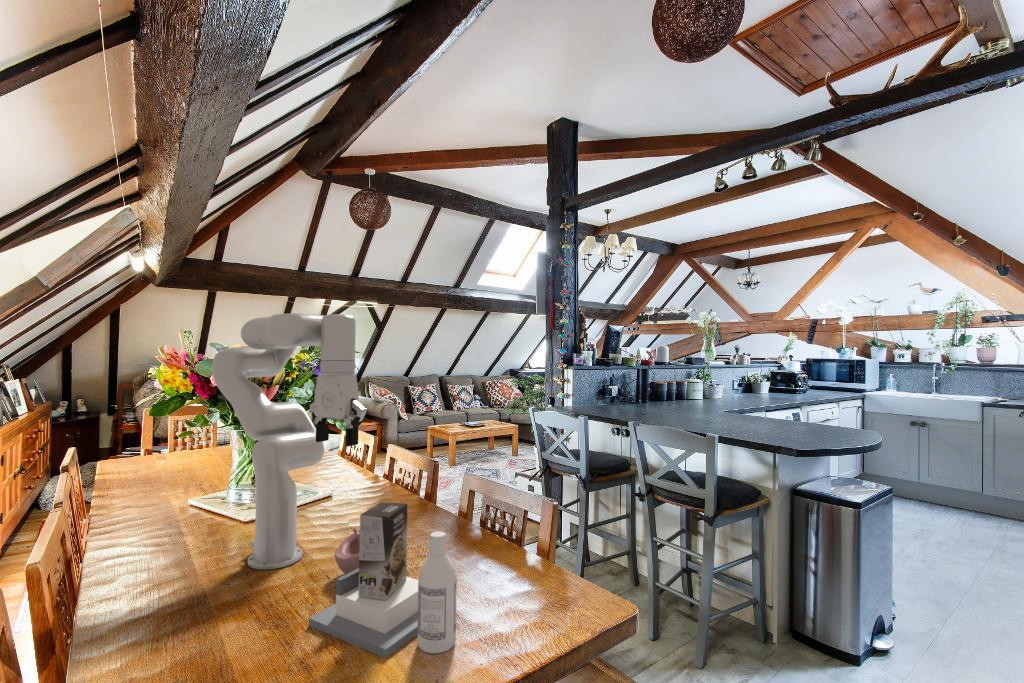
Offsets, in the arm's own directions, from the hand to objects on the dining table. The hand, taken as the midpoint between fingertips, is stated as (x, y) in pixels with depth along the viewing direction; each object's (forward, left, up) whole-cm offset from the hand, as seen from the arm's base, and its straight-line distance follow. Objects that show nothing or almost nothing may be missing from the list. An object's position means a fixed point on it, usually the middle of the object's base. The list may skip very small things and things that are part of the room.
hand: (336, 443), depth 114 cm
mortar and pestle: (+1, +7, -32) cm, 33 cm away
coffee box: (+19, -4, -27) cm, 33 cm away
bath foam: (+34, -6, -32) cm, 47 cm away
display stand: (+19, -4, -32) cm, 38 cm away
